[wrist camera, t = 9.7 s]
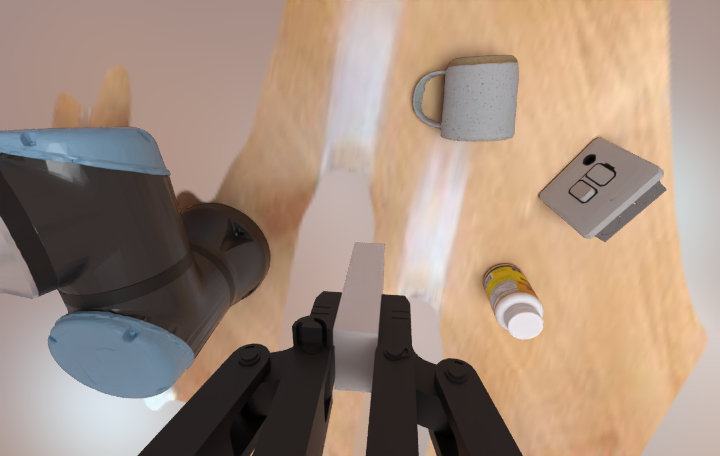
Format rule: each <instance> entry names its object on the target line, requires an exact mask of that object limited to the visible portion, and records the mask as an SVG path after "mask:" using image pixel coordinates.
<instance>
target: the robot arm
mask: <svg viewBox="0 0 720 456" xmlns="http://www.w3.org/2000/svg"><path fill="white" fill-rule="evenodd" d="M169 176H170V172H169V170H167V169H166V167H165V164H164V162H163V159H162V156H161V154H160V151H159V148H158V146H157V143H156V141H155V140H154V138H153V137H152V136H151V135H150V134H149V133H148V132H146V131H144V130H142V129H140V128H135V127H82V128H48V129H24V130H9V131H0V293H8V294H12V295H17V296H21V297H26V298H31V299H33V298H36V297H39V296H41V295H44V294H46V293H48V292H51V291H53V290H56V289H57V290H58V291H59V293H60V295H61V297H62V299H63V301H64V303H65V305H66V307H67V309H68V314H66V315H64V316H62V317H61V318H60V319H58V320H57V321H56V323H55V326H54V327H53V328H52V329H51V333H50V336H49V338H48V346H49V350H50V352H51V354H52V356H53V358H54V359H55V361H56V362H57V363H58V365H59V366H60V367H61V368H62V369H63V370H64V371H65V372H67V373H68V374H69V375H70V376H72V377H73V378H74V379H76V380H77V381H79V382H81V383H82V384H84V385H86V386H88V387H90V388H93V389H95V390H98V391H100V392H102V393H105V394H109V395H113V396H117V397H122V398H147V397H152V396H155V395H158V394H161V393H163V392H164V391H166V390H168V389H169V388H170V387H172V386H173V385H174V384H175V382H176V381H177V380H178V379H179V377H180V376H181V375H182V374H183V372H184V371H185V370H186V369H188V368H189V367H190V366H191V365H192V364H193V362H194V359H195V358H196V356H197V355H198V353H199V352H200V350H201V349H202V347H203V346H204V344H205V343H206V341H207V340H208V338H209V337H210V335H211V334H212V333H213V331H214V330H215V328H216V327H217V325H218V324H219V322H220V321H221V319H222V318H223V316H224V315H225V313H226V312H227V310H228V309H229V307H231V306H232V305H234V304H236V303H237V302H239V301H240V300H242V299H244V298H246V297H247V296H249V295H251V294H252V293H253V292H254V291H255V290H256V289H257V288H258V287H259V286H260V284H261V283H262V281H263V280H264V278H265V276H266V275H267V272H268V270H269V266H270V251H269V246H268V243H267V241H266V239H265V237H264V235H263V233H262V232H261V230H260V229H259V228H258V226H257V225H256V224H255V223H254V222H253V221H252V220H251V219H250V218H248V217H247V216H246V215H244V214H243V213H241V212H240V211H238V210H236V209H233V208H231V207H228V206H225V205H221V204H213V203H207V204H200V205H196V206H193V207H191V208H189V209H187V210H185V211H184V212H183V213H180V210H179V207H178V203H177V200H176V197H175V193H174V190H173V187H172V184H171V180H170V177H169ZM384 257H385V244H376V243H358V242H357V243H356V242H355V244H354V248H353V252H352V256H351V261H350V264H349V268H348V272H347V276H346V280H345V284H344V288H343V292H342V293H341V292H327V291H323V292H322V293H321V294H320V295H319V296H318V297H317V298H316V299H315V302H314V305H313V308H312V311H311V314H310V316H306V317H302V318H300V319H298V320H297V321H295V323H294V324H293V326H292V331H293V344H294V346H293V347H292V348H289V349H287V350H283V351H278V352H272V353H270V352H269V350H268V349H267V347H265V346H263V345H261V344H248V345H245V346H242V347H240V348H238V349H237V350H236V351H235V352H233V353H232V354H231V355H230V357H229V358H228V359H227V360H226V361H225V362H224V363H223V364H222V365H221V366H220V367H219V368H218V369H217V371H216V372H215V373H214V374H213V375H212V376H211V377H210V378H209V379H208V380H207V381H206V382H205V383H204V385H203V386H202V387H201V388H200V389H199V390H198V391H197V392H196V393H195V394H194V395H193V396H192V398H191V399H190V400H189V401H188V402H187V403H186V404H185V405H184V406H183V407H182V408H181V409H180V411H179V412H178V413H177V414H176V415H175V416H174V417H173V418H172V419H171V420H170V421H169V422H168V424H167V425H166V426H165V427H164V428H163V429H162V430H161V431H160V432H159V433H158V434H157V435H156V436H155V438H153V440H152V441H151V442H150V443H149V444H148V445H147V446H146V447H145V448H144V449H143V450H142V451H141V453H140V454H139V455H138V456H250V455H251V453H252V452H253V450H254V452H253V455H252V456H322V454H323V448H324V443H325V438H326V433H327V428H328V423H329V418H330V413H331V408H332V403H333V401H332V391H333V386H335V389H337V390H348V391H360V392H371V393H372V394H371V404H370V415H369V426H368V437H367V449H366V456H419V452H418V431H417V424H419V425H421V426H423V427H426V428H428V429H429V434H430V437H431V440H432V443H433V446H434V449H435V452H436V455H437V456H523V455H522V453H521V452H520V450H519V448H518V446H517V444H516V443H515V441H514V439H513V437H512V435H511V434H510V432H509V430H508V428H507V426H506V425H505V423H504V421H503V419H502V417H501V416H500V414H499V412H498V410H497V408H496V407H495V405H494V403H493V401H492V399H491V398H490V396H489V394H488V392H487V390H486V389H485V387H484V385H483V383H482V381H481V380H480V378H479V376H478V374H477V372H476V371H475V370H474V369H473V367H472V366H471V365H469V364H468V363H466V362H465V361H462V360H459V359H452V358H448V359H444V360H442V361H440V362H439V363H438V364H437V365H436V364H433V363H430V362H428V361H425V360H423V359H422V358H420V357H419V356H418V355H417V354H416V353H415V352H414V350H413V347H412V336H411V314H410V303H409V301H408V300H407V298H406V297H405V296H400V295H385V294H383V280H384ZM254 448H255V449H254Z"/></svg>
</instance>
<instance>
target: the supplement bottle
mask: <svg viewBox="0 0 720 456" xmlns="http://www.w3.org/2000/svg"><path fill="white" fill-rule="evenodd" d="M483 284H484V288H485V291H486V294H487V296H488V299H489V302H490V304H491V307H492V310H493V312H494V315H495V317H496V320H497V322H498V323H499V324H500V325H501V326H502V327H503V328H504V329H506V330H508V331H509V333H510V334H511V335H512V336H514V337H515V338H518V339H530V338H533V337H535V336H537V335H538V334H539V333H540V332H541V331H542V329H543V320H542V317H543V307H542V304H541V302H540V301H539V299H538V297H537V296H536V294H535V292H534V291H533V289H532V287H531V286H530V284H529V282H528V281H527V279H526V277H525V276H524V274H523V273H522V271H521V270H520V269H519V268H517V267H515V266H513V265H510V264H501V265H497V266H495V267H493V268H491V269H490V270H489V271H488V272H487V273H486V275H485V277H484V281H483Z"/></svg>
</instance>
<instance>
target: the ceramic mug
mask: <svg viewBox="0 0 720 456" xmlns="http://www.w3.org/2000/svg"><path fill="white" fill-rule="evenodd" d="M442 74H444V75H446V77H445V88H444V103H443V111H442V123H438V122H435V121H432V120H430V119H428V118H427V117H426V116H425V115H424V114H423V112H422V108H421V104H422V96H423V92H424V90H425V87H424V85H425V83H426V82H427V81H428V80H430V79H431V78H432V77H436V76H438V75H442ZM518 81H519V67H518V61H517V59H516V58H515V57H514V56H512V55H492V56H477V57H464V58H457V59H454V60H452V61H451V62H450V63H449V65H448V68H447V70H443V71H442V70H441V71H435V72H432V73H430V74H427V75H426V76H424V77H423V78H422V79H421V80H420V81H419V83H418V84H417V86H416V88H415V91H414V95H413V108H414V111H415V113H416V115H417V116H418V117H419V118H420V120H422V121H423V122H424V123H426V124H428V125H430V126H433V127H437V128H441V137H443V138H445V139H449V140H457V141H498V140H506V139H509V138H512V137H513V135H514V130H515V117H516V106H517V91H518Z"/></svg>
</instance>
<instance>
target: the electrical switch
mask: <svg viewBox="0 0 720 456" xmlns="http://www.w3.org/2000/svg"><path fill="white" fill-rule="evenodd" d="M663 177H664V172H663V170H662V169H661V168H660V167H659V166H657V165H655V164H653V163H651V162H649V161H647V160H645V159H643V158H641V157H639V156H637V155H635V154H633V153H631V152H629V151H627V150H625V149H623V148H621V147H619V146H617V145H615V144H613V143H611V142H609V141H607V140H605V139H603V138H597V139H595V140H593V141H592V142H591V143H590V144H589V145H588V146H587V147H586V148H585V149H584V150H583V151H582V152H581V153H580V154H579V155H578V156H577V157H576V158H575V159H574V160H573V161H572V162H571V163H570V164H569V165H568V166H567V167H566V168H565V169H564V170H563V171H562V172H561V173H560V174H559V175H558V176H557V177H556V178H555V179H554V180H553V181H552V182H551V183H550V184H549V185H548V186H547V187H546V188H545V189H544V190H543V191H542V192H541V193H540V199H541V200H542V201H543V202H544V203H545V204H546V205H547V206H549V207H550V208H551V209H552V210H553V211H554V212H556V213H557V214H558V215H559V216H560V217H561V218H562V219H564V220H565V221H566V222H567V223H568V224H569V225H571V226H572V227H573V228H574V229H575V230H576V231H577V232H578V233H579V234H580V235H582V236H583V237H584V238H588V239H591V238H593V237H594V236H595V237H598V238H599V239H600V240H603V241H604V242H606V241H607V240H608V239H609V238H610V237H612V236H613V235H614V234H615V233H616V232H618V231H619V230H620V229H621V228H622V227H623V226H625V225H626V224H627V223H628V222H629V221H631V220H632V219H633V218H634V217H635V216H636V215H638V214H639V213H640V212H641V211H642V210H644V209H645V208H646V207H647V206H648V205H649V204H651V203H652V202H653V201H654V200H655V199H657V198H658V197H659V196H660V195H661V194H662V193H664V192H665V191H666V189H665V187H664V186H663V185H662V184H661V183H660V181H659V180H660V179H661V178H663ZM654 195H655V196H654ZM633 202H634V203H636V204H633ZM619 216H620V217H621V218H620V217H619ZM618 220H619V221H618ZM614 230H615V231H614ZM604 234H605V235H604Z"/></svg>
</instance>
